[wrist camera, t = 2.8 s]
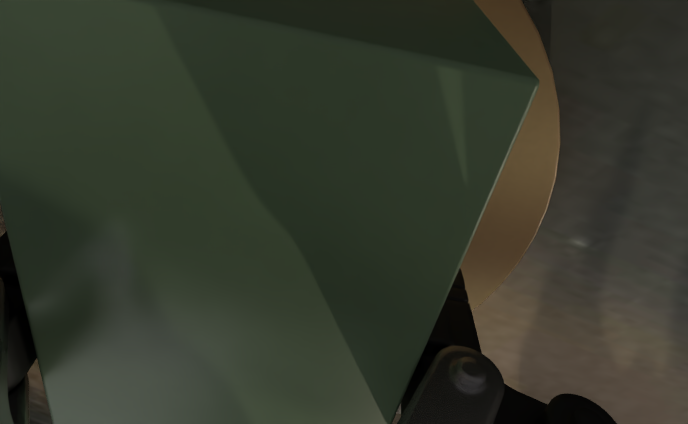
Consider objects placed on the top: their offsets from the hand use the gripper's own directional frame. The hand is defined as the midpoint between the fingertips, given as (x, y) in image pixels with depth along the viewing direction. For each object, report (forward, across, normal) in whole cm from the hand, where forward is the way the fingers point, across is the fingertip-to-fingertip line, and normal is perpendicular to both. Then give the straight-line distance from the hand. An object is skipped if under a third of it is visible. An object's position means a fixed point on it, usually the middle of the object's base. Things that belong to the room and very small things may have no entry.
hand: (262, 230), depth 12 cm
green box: (+2, 0, 0) cm, 2 cm away
